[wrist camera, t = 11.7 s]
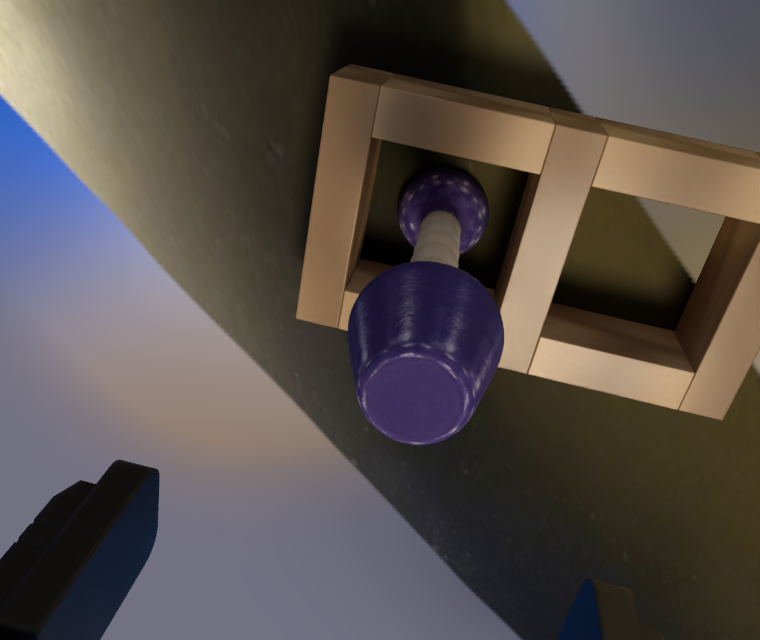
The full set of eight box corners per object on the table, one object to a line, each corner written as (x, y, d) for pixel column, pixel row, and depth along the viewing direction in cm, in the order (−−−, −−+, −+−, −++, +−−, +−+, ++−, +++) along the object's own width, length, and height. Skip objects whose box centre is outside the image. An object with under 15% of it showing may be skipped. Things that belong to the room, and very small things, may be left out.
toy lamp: (425, 140, 30) (359, 290, 16) (519, 184, 30) (541, 371, 16) (384, 232, 32) (292, 439, 18) (472, 272, 33) (453, 508, 18)
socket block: (315, 284, 34) (295, 319, 31) (349, 63, 29) (329, 74, 26) (698, 374, 33) (722, 421, 30) (801, 161, 28) (845, 187, 25)
